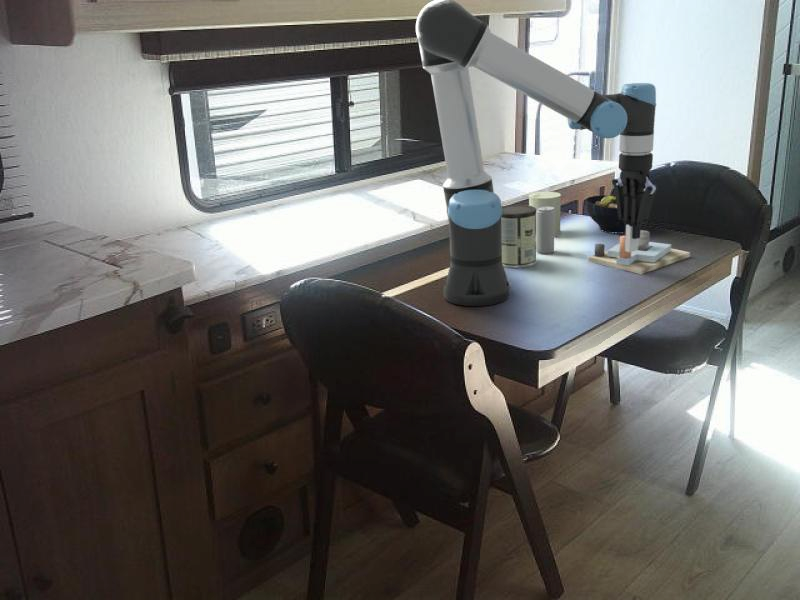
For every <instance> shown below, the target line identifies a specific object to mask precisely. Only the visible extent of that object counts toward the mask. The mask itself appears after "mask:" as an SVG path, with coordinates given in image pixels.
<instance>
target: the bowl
mask: <svg viewBox="0 0 800 600" xmlns="http://www.w3.org/2000/svg"><path fill="white" fill-rule="evenodd" d="M585 206H586V210H587V213H588V216H589V217H590V218H591V219H592V221H593V222H595V223H596V224H597V225H598V227H599V229H600V231H602V230H603V231H602V232H604V231H606V232H605V233H609V232H614V233H613V234H619V233H618V232H623V233H624V230H625V224H624V222H623V221H622V220H619V219H618V212H617V204H616V196H615V195H593V196H588V197H587V198H586V199H585ZM615 232H617V233H615Z"/></svg>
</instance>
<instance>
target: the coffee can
mask: <svg viewBox="0 0 800 600" xmlns="http://www.w3.org/2000/svg"><path fill="white" fill-rule="evenodd" d="M501 206H502V215H501V231H502V265H503V268H510V269H511V268H512V269H518V268H522V269H523V268H529V267H531V266H534V265H535V264H536V263H537V251H536V208H535V207H533V206H529V204H526V205H525V204H524V205H523V204H511V205H509V204H508V205H504V206H503V205H501Z"/></svg>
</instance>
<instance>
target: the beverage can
mask: <svg viewBox="0 0 800 600" xmlns="http://www.w3.org/2000/svg"><path fill="white" fill-rule="evenodd" d="M554 221H555V211H554V207H549V206H542V207H538V208H537V210H536V253H537V254H540V255H549V254H553V252H554V251H555V237H554Z"/></svg>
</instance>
